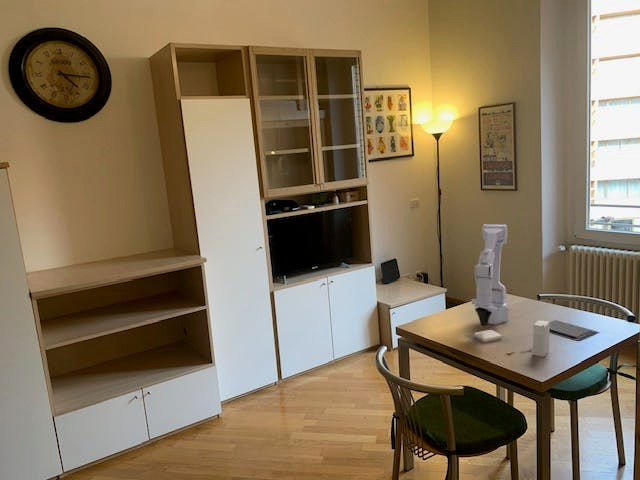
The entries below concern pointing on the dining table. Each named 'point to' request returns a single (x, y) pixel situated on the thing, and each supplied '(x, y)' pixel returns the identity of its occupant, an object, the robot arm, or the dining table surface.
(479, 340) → the mat
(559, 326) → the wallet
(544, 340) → the skincare box
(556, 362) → the dining table surface
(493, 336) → the tile
